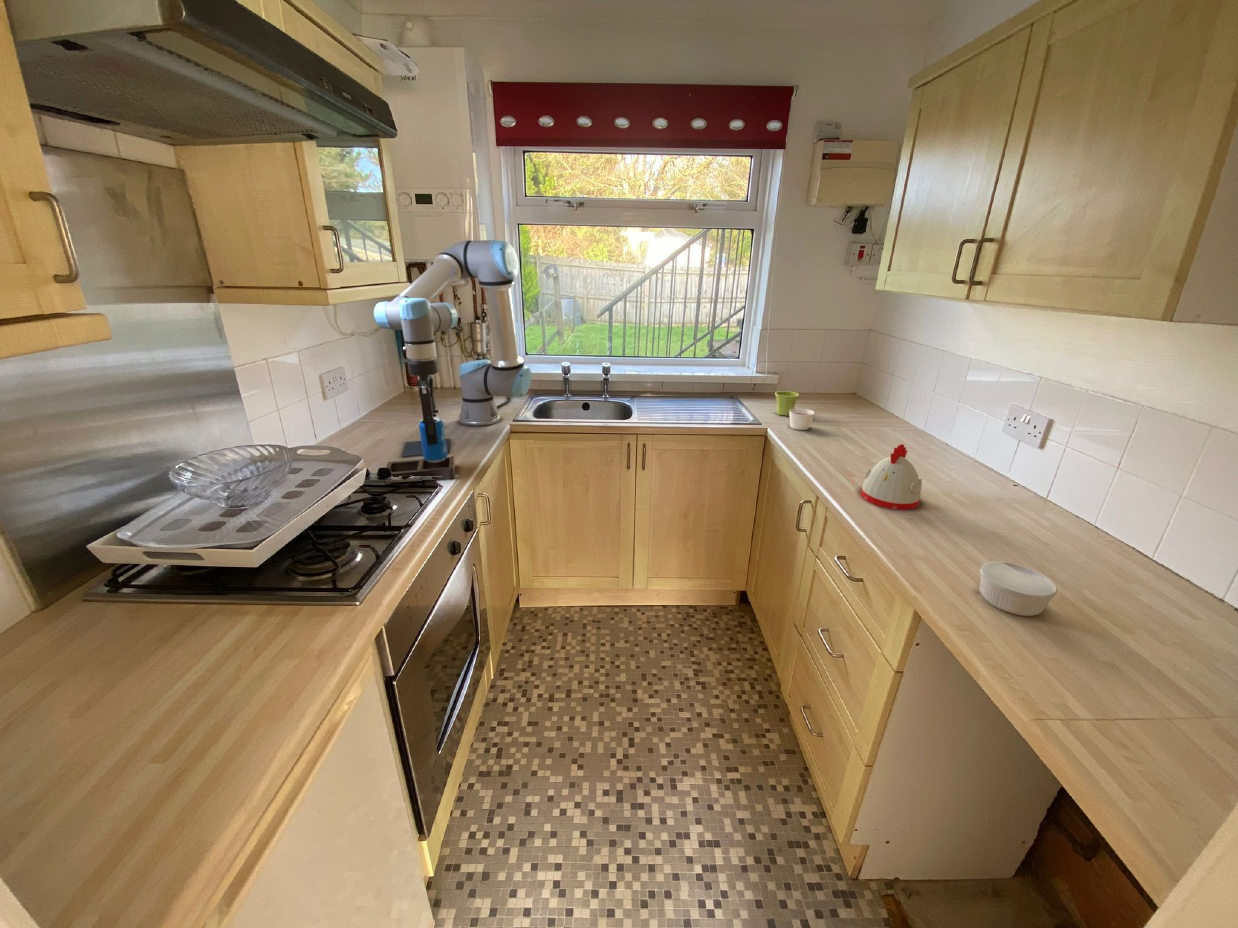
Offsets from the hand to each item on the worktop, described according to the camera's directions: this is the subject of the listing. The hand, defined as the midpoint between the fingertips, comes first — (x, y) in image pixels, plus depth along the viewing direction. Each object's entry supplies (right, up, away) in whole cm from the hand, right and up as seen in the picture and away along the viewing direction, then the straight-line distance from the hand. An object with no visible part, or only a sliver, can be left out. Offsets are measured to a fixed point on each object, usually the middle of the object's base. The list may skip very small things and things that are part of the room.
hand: (433, 439), depth 145 cm
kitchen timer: (+125, -16, -9) cm, 127 cm away
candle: (+122, +7, +49) cm, 132 cm away
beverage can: (0, -6, +2) cm, 6 cm away
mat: (-11, -2, +24) cm, 26 cm away
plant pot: (+122, +14, +66) cm, 139 cm away
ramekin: (+126, -33, -51) cm, 139 cm away
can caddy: (-4, -10, +2) cm, 11 cm away
